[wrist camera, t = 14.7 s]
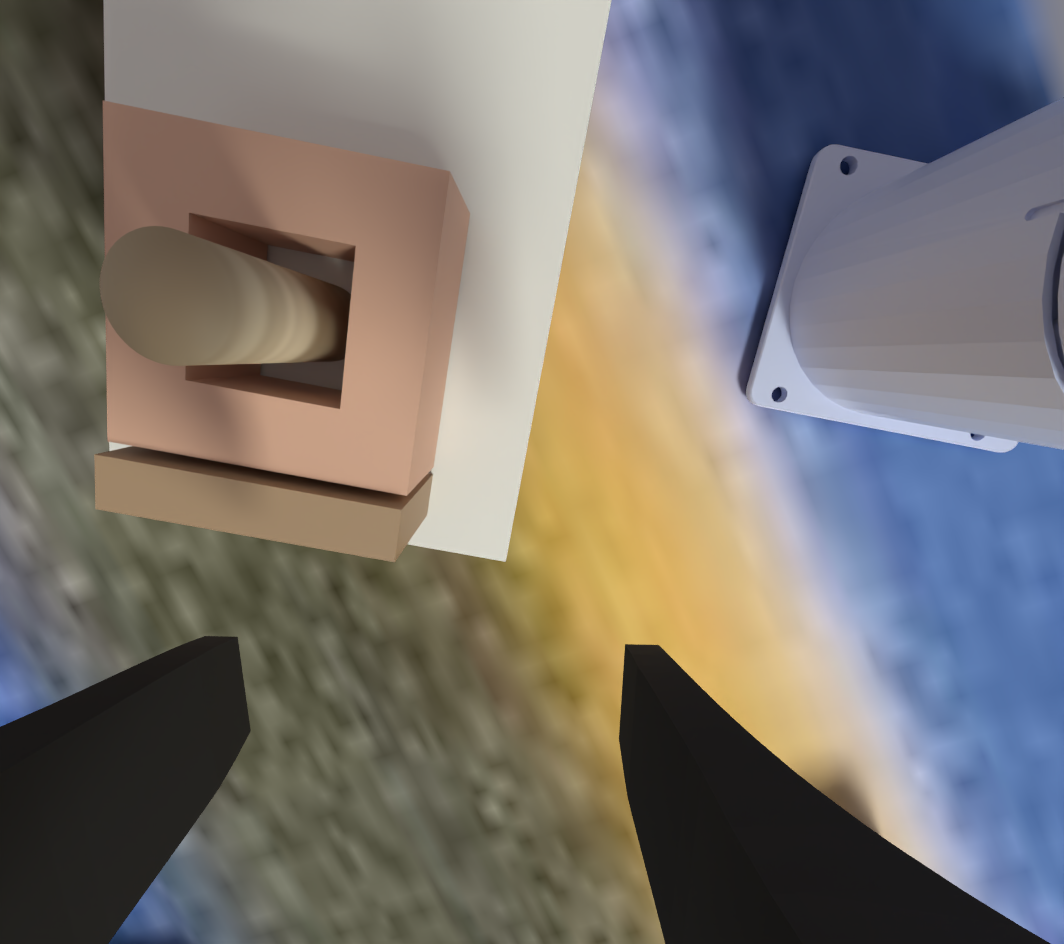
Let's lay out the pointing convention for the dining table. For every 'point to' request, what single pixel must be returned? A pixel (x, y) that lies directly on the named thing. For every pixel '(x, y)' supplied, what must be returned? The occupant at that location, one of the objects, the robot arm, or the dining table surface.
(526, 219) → the base board
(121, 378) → the sliding block
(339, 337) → the dowel
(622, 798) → the dining table surface
